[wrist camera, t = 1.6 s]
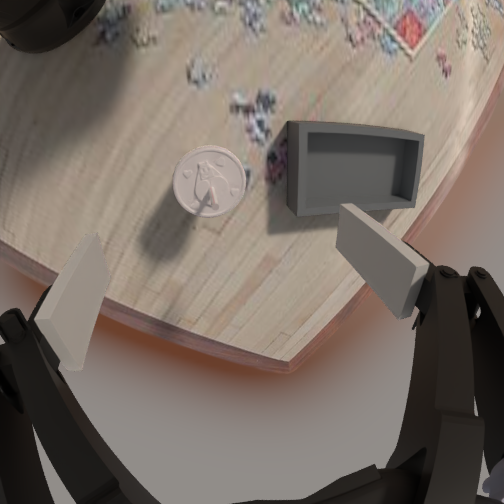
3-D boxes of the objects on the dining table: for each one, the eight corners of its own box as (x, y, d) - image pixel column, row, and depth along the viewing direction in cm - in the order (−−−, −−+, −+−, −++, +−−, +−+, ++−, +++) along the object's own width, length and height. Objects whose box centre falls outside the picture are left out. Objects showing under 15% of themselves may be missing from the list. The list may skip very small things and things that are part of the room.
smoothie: (188, 195, 33) (186, 252, 21) (170, 146, 29) (154, 174, 17) (238, 178, 33) (267, 224, 21) (223, 128, 30) (244, 142, 18)
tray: (287, 120, 30) (298, 123, 27) (406, 130, 33) (424, 134, 30) (286, 205, 36) (297, 216, 33) (398, 198, 39) (414, 207, 36)
